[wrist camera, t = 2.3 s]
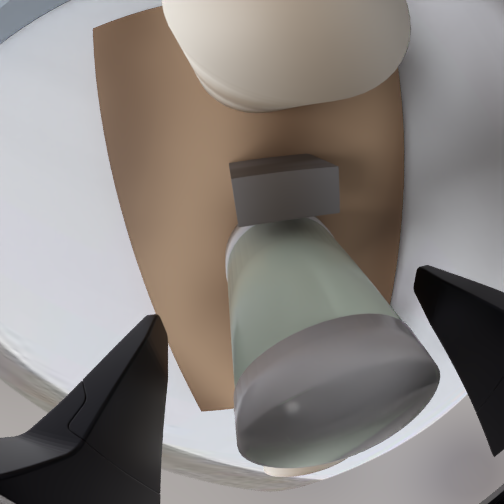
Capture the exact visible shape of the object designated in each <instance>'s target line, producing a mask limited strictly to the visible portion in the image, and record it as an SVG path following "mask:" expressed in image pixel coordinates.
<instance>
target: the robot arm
mask: <svg viewBox="0 0 504 504" xmlns="http://www.w3.org/2000/svg"><path fill="white" fill-rule="evenodd" d="M414 292H415V294H416V296H417V298H418V300H419V302H420V304H421V306H422V308H423V310H424V312H425V315H426V317H427V319H428V321H429V323H430V325H431V326H432V328H433V330H434V332H435V333H436V335H437V337H438V338H439V340H440V342H441V344H442V345H443V347H444V349H445V351H446V353H447V354H448V356H449V358H450V360H451V362H452V364H453V366H454V367H455V369H456V371H457V373H458V375H459V377H460V379H461V381H462V383H463V385H464V387H465V389H466V391H467V393H468V396H469V398H470V399H471V402H472V404H473V406H474V409H475V411H476V414H477V416H478V418H479V421H480V423H481V425H482V428H483V430H484V433H485V436H486V438H487V441H488V443H489V446H490V449H491V452H492V454H493V456H494V457H495V456H496V455H497V454H499V453H500V452H501V451H502V450H504V292H502V291H499V290H496V289H494V288H491V287H488V286H486V285H483V284H480V283H477V282H475V281H472V280H469V279H466V278H464V277H461V276H458V275H455V274H452V273H449V272H446V271H444V270H441V269H438V268H435V267H432V266H429V265H425V266H421V267H419V268H418V269H417V272H416V277H415V282H414ZM167 383H168V336H167V332H166V330H165V327H164V325H163V322H162V320H161V318H160V316H159V315H158V314H154V315H147V316H146V317H144V318H143V319H142V320H141V321H140V322H139V323H138V324H137V325H136V326H135V327H134V328H133V329H132V330H131V331H130V332H129V333H128V334H127V335H126V336H125V337H124V338H123V339H122V340H121V341H120V342H119V343H118V344H117V345H116V346H115V347H114V348H113V349H112V350H111V351H110V352H109V353H108V354H107V355H106V356H105V357H104V358H103V359H102V361H101V362H100V363H99V364H98V365H97V366H96V367H95V368H94V369H93V370H92V371H91V372H90V373H89V374H88V375H87V376H86V377H85V378H84V379H83V381H81V382H80V383H79V384H78V385H77V386H76V387H75V388H74V389H73V390H72V391H71V392H70V393H69V394H68V395H67V396H66V397H65V398H64V399H63V400H62V401H61V402H60V403H59V404H58V405H57V406H56V407H55V408H53V409H52V410H51V411H50V412H49V413H48V414H47V415H46V416H44V417H43V418H42V419H41V420H40V421H39V422H38V423H37V424H35V425H34V426H33V427H32V428H31V429H30V430H28V431H27V432H25V433H24V434H21V435H19V436H15V437H5V438H0V504H160V482H161V480H160V479H161V457H162V441H163V427H164V414H165V403H166V393H167ZM480 504H504V484H503V485H502V486H501V487H499V488H498V489H497V490H496V491H495V492H494V493H492V494H491V495H490V496H489V497H487V498H486V499H485V500H483V501H482V502H481V503H480Z"/></svg>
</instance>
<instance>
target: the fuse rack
mask: <svg viewBox="0 0 504 504" xmlns="http://www.w3.org/2000/svg"><path fill="white" fill-rule="evenodd" d="M161 1H162V6H160V7H156V8H152V9H148V10H145V11H141V12H138V13H135V14H132V15H128V16H125V17H122V18H120V19H117V20H114V21H111V22H108V23H106V24H103V25H101V26H98V27H96V28H93V43H94V59H95V71H96V81H97V89H98V97H99V105H100V112H101V118H102V124H103V130H104V136H105V141H106V146H107V151H108V156H109V161H110V166H111V170H112V175H113V179H114V183H115V187H116V191H117V195H118V199H119V203H120V207H121V210H122V214H123V218H124V221H125V225H126V228H127V231H128V235H129V238H130V241H131V245H132V248H133V251H134V254H135V257H136V260H137V263H138V266H139V269H140V272H141V275H142V278H143V280H144V283H145V286H146V289H147V291H148V294H149V297H150V299H151V302H152V305H153V307H154V310H155V312H156V314H158V315H159V316H160V318H161V320H162V322H163V325H164V327H165V330H166V332H167V336H168V344H169V346H170V348H171V350H172V353H173V355H174V357H175V359H176V361H177V364H178V366H179V368H180V370H181V372H182V374H183V376H184V378H185V380H186V382H187V384H188V386H189V388H190V390H191V392H192V394H193V396H194V398H195V400H196V402H197V404H198V406H199V408H200V410H201V411H213V410H224V409H233V408H234V401H233V398H234V390H235V385H234V372H233V359H232V345H231V330H230V314H229V297H228V282H227V278H226V265H225V251H226V245H227V242H228V239H229V237H230V235H231V233H232V231H233V230H234V228H235V227H236V225H237V224H238V227H245V226H252V225H258V224H265V223H272V222H278V221H285V220H292V219H299V218H306V217H313V216H316V217H317V218H318V219H319V220H320V221H321V222H322V223H323V224H324V225H325V226H326V227H327V229H328V230H329V231H330V232H331V234H332V235H333V237H334V238H335V240H336V241H337V242H338V243H339V244H340V245H341V246H342V248H343V249H344V250H345V251H346V252H347V253H348V255H349V256H350V257H351V258H352V259H353V260H354V262H355V263H356V264H357V265H358V266H359V268H360V269H361V270H362V271H363V272H364V274H365V275H366V276H367V277H368V278H369V280H370V281H371V282H372V283H373V285H374V286H375V287H376V288H377V290H378V291H379V292H380V293H381V295H382V296H383V297H384V298H385V300H386V301H387V302H388V303H389V305H390V302H391V296H392V291H393V285H394V279H395V272H396V266H397V258H398V251H399V242H400V233H401V222H402V209H403V190H404V129H403V112H402V99H401V89H400V80H399V72H398V66H399V65H400V63H401V62H402V60H403V58H404V56H405V53H406V51H407V48H408V44H409V40H410V31H411V27H410V15H409V10H408V6H407V3H406V0H161ZM345 459H347V458H345ZM345 459H341V460H338V461H335V462H331V463H327V464H323V465H317V466H311V467H304V468H273V467H266V466H264V472H265V473H266V474H268V475H271V476H277V477H292V476H300V475H306V474H310V473H314V472H318V471H321V470H324V469H327V468H329V467H332V466H334V465H336V464H338V463H340V462H342V461H343V460H345Z"/></svg>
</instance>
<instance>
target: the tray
mask: <svg viewBox="0 0 504 504" xmlns="http://www.w3.org/2000/svg"><path fill="white" fill-rule="evenodd" d="M67 1H69V0H0V44H1V43H2V42H3V41H5V40H6V39H7V38H9V37H10V36H11V35H13V34H14V33H16V32H17V31H18V30H20V29H21V28H23V27H24V26H26V25H27V24H29V23H30V22H32V21H34V20H35V19H37V18H38V17H40V16H42V15H43V14H45V13H47V12H49V11H50V10H52V9H54V8H56V7H58V6H59V5H61V4H63V3H65V2H67Z"/></svg>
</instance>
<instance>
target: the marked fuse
mask: <svg viewBox="0 0 504 504" xmlns="http://www.w3.org/2000/svg"><path fill="white" fill-rule="evenodd" d="M225 265H226V278H227V282H228V297H229V314H230V330H231V345H232V359H233V372H234V385H235V390H234V398H233V401H234V413H235V425H236V437H237V447H238V450H239V452H240V453H241V455H242V456H243V457H244V458H246V459H247V460H249V461H251V462H253V463H255V464H258V465H262V466H266V467H273V468H304V467H311V466H317V465H323V464H327V463H331V462H335V461H338V460H341V459H345V458H348V457H350V456H353V455H356V454H358V453H360V452H363V451H365V450H367V449H369V448H371V447H373V446H375V445H377V444H379V443H381V442H383V441H384V440H386V439H388V438H389V437H391V436H392V435H394V434H395V433H397V432H398V431H400V430H401V429H402V428H404V427H405V426H406V425H407V424H409V423H410V422H411V421H412V420H413V419H414V418H415V417H416V416H417V415H418V414H419V413H420V412H421V411H422V410H423V409H424V408H425V407H426V405H427V404H428V403H429V401H430V400H431V398H432V397H433V395H434V394H435V392H436V390H437V387H438V384H439V380H440V371H439V368H438V366H437V365H436V363H435V362H434V360H433V359H432V358H431V356H430V355H429V353H428V352H427V350H426V349H425V348H424V346H423V345H422V344H421V342H420V341H419V339H418V338H417V337H416V335H415V334H414V333H413V331H412V330H411V329H410V328H409V327H408V325H407V324H406V323H404V322H403V321H402V320H401V319H400V318H399V316H398V315H397V314H396V313H395V311H394V310H393V309H392V307H391V306H390V305H389V303H388V302H387V301H386V300H385V298H384V297H383V296H382V295H381V293H380V292H379V291H378V290H377V288H376V287H375V286H374V285H373V283H372V282H371V281H370V280H369V278H368V277H367V276H366V275H365V274H364V272H363V271H362V270H361V269H360V268H359V266H358V265H357V264H356V263H355V262H354V260H353V259H352V258H351V257H350V256H349V255H348V253H347V252H346V251H345V250H344V249H343V248H342V246H341V245H340V244H339V243H338V242H337V241H336V240H335V238H334V237H333V235H332V234H331V232H330V231H329V230H328V229H327V227H326V226H325V225H324V224H323V223H322V222H321V221H320V220H319V219H318V218H317V217H316V216H313V217H306V218H299V219H292V220H285V221H278V222H272V223H265V224H258V225H252V226H245V227H238V224H237V225H236V227H235V228H234V230H233V231H232V233H231V235H230V237H229V239H228V242H227V245H226V251H225Z"/></svg>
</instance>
